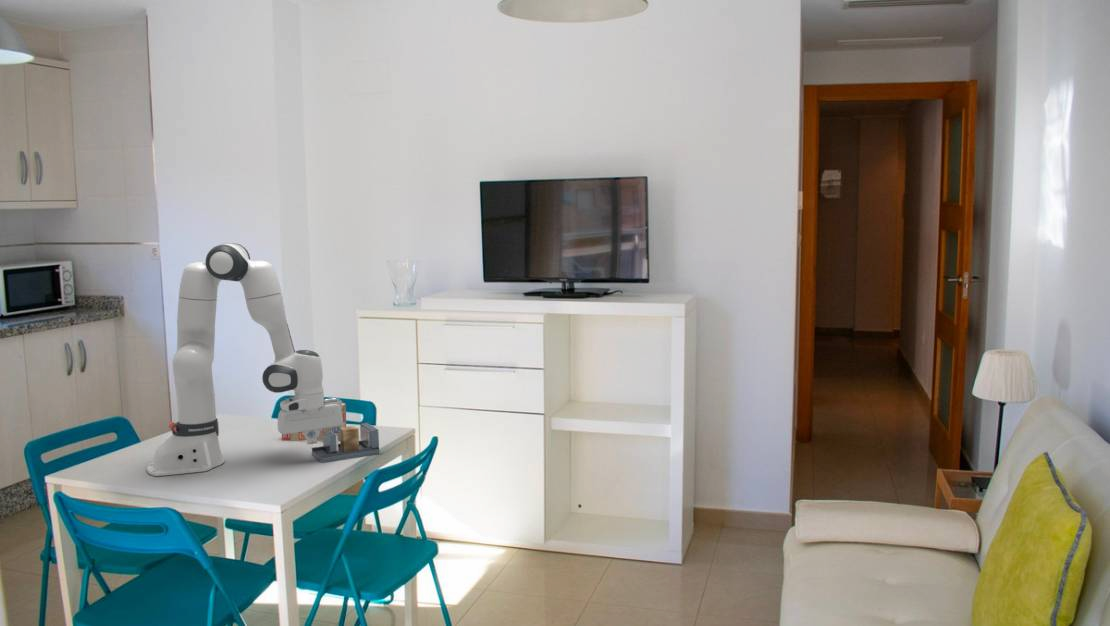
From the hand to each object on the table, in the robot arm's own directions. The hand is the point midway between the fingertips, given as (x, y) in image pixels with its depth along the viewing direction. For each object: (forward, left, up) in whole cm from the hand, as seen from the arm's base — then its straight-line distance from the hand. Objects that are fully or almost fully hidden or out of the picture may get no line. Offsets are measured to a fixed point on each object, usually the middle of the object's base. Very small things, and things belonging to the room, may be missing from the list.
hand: (311, 443), depth 290 cm
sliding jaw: (+6, 0, -3) cm, 7 cm away
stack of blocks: (+8, +26, -6) cm, 28 cm away
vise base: (+11, 0, -5) cm, 12 cm away
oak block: (+12, 0, -4) cm, 13 cm away
